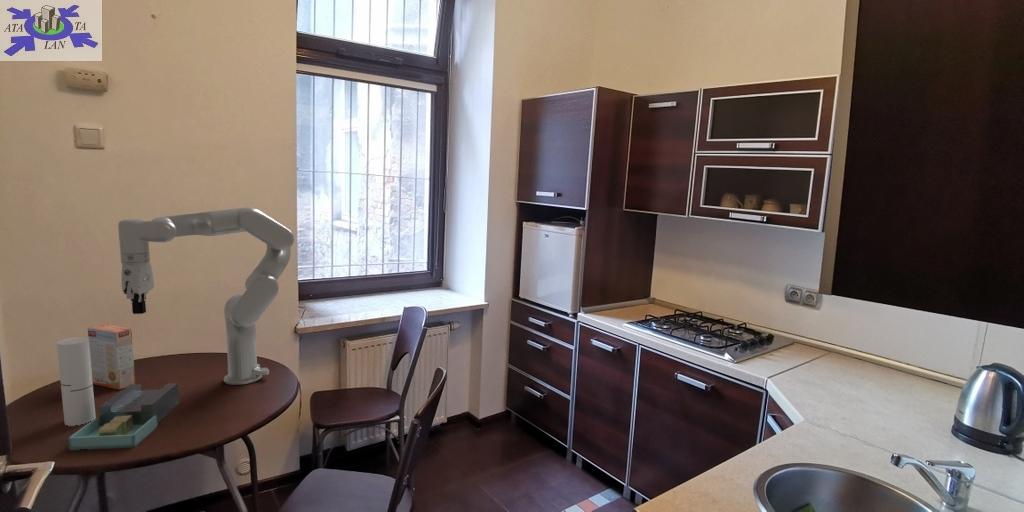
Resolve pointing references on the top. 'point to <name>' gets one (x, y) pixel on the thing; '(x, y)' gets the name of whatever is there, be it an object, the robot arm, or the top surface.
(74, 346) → the cylindrical container
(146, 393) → the tray
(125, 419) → the yellow wedge block
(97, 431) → the tray
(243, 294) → the robot arm
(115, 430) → the yellow cube
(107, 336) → the cracker box
